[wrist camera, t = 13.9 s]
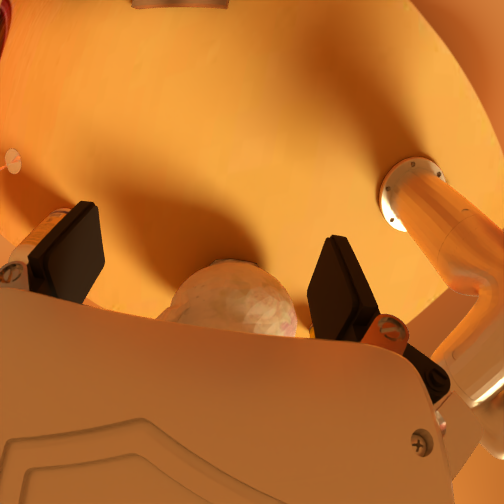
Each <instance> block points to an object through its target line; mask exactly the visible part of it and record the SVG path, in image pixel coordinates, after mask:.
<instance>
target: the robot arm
mask: <svg viewBox="0 0 504 504" xmlns="http://www.w3.org/2000/svg"><path fill="white" fill-rule="evenodd" d="M379 205H380V210H381V213H382V215H383V217H384V218H385V220H386V221H387V222H388V223H389V224H390V225H391V226H392V227H393V228H395V229H397V230H400V231H407V232H408V233H409V234H410V236H411V237H412V238H413V239H414V241H415V242H416V243H417V245H418V246H419V247H420V249H421V250H422V251H423V253H424V254H425V255H426V257H427V258H428V260H429V261H430V262H431V264H432V265H433V267H434V268H435V269H436V271H437V272H438V274H439V275H440V276H441V278H442V279H443V281H444V282H445V283H446V285H447V286H448V287H449V288H451V289H452V290H454V291H455V292H457V293H460V294H463V295H468V296H479V297H478V300H477V301H476V303H475V304H474V306H473V307H472V308H471V310H470V311H469V313H468V314H467V315H466V316H465V318H464V319H463V320H462V321H461V322H460V323H459V324H458V325H457V327H456V328H455V329H454V330H453V331H452V332H451V333H450V334H449V335H448V337H447V338H446V339H445V340H444V341H443V342H442V343H441V344H440V345H439V347H438V348H437V349H436V350H435V351H434V353H433V355H432V356H431V358H430V359H429V358H428V357H427V356H425V355H424V354H422V353H421V352H419V351H418V350H417V349H415V348H414V347H413V346H411V345H410V344H408V340H409V331H408V329H407V327H406V325H405V324H404V323H403V322H402V321H401V320H400V319H399V318H397V317H395V316H393V315H390V314H380V311H379V309H378V305H377V303H376V300H375V298H374V296H373V293H372V291H371V289H370V287H369V284H368V282H367V280H366V278H365V275H364V273H363V271H362V269H361V267H360V265H359V262H358V260H357V258H356V256H355V254H354V252H353V250H352V248H351V246H350V244H349V242H348V240H347V238H346V237H343V236H337V235H332V236H331V237H330V238H328V237H327V238H326V240H325V243H324V245H323V248H322V251H321V254H320V257H319V259H318V262H317V265H316V268H315V270H314V273H313V276H312V278H311V281H310V284H309V286H308V290H307V298H308V303H309V308H310V313H311V318H312V323H313V329H314V334H315V338H301V337H288V336H277V335H266V334H257V333H248V332H239V331H231V330H223V329H216V328H208V327H201V326H195V325H188V324H182V323H175V322H169V321H163V320H158V319H152V318H146V317H141V316H136V315H131V314H126V313H120V312H116V311H111V310H106V309H101V308H97V307H92V306H88V305H83V304H82V303H83V301H84V299H85V298H86V296H87V294H88V292H89V291H90V289H91V287H92V285H93V284H94V282H95V280H96V279H97V277H98V275H99V274H100V272H101V270H102V269H103V267H104V264H105V257H104V251H103V244H102V237H101V230H100V221H99V212H98V207H97V206H95V204H94V203H93V202H87V201H80V202H79V203H78V204H77V205H76V206H75V207H74V208H73V209H72V210H70V211H69V212H68V213H67V214H66V215H65V216H64V217H63V218H62V219H61V220H60V221H59V222H58V223H57V224H56V225H55V226H54V227H53V229H52V230H51V231H50V232H49V233H48V234H47V235H46V236H45V237H44V238H43V239H42V240H41V241H40V242H39V243H38V245H37V246H36V247H35V248H34V249H33V250H32V251H31V252H30V254H29V255H28V256H27V257H28V261H29V262H28V264H27V265H26V264H25V263H24V262H22V261H12V262H9V263H7V264H5V265H4V266H3V267H2V268H0V504H455V503H454V494H453V486H452V480H453V479H454V478H455V477H456V475H457V474H458V473H459V471H460V470H461V468H462V467H463V466H464V464H465V463H466V461H467V460H468V458H469V457H470V456H471V454H472V453H473V451H474V450H475V448H476V446H477V445H478V443H480V444H481V445H482V446H483V447H484V448H485V449H486V450H487V451H488V452H489V453H490V454H491V455H493V456H494V457H496V458H498V459H502V460H504V232H503V231H502V230H501V229H500V228H499V227H498V226H497V225H496V224H495V223H494V222H492V221H491V220H490V219H489V218H488V217H487V216H486V215H485V214H483V213H482V212H481V211H480V210H479V209H478V208H477V207H475V206H474V205H473V204H472V203H471V202H469V201H468V200H467V199H466V198H465V197H463V196H462V195H461V194H460V193H458V192H457V191H456V190H455V189H453V188H452V187H451V186H449V185H448V184H447V183H446V180H445V177H444V174H443V172H442V171H441V169H440V168H439V167H438V166H437V165H436V164H435V163H434V162H432V161H431V160H429V159H426V158H424V157H410V158H407V159H404V160H402V161H400V162H399V163H397V164H396V165H395V166H394V167H392V169H391V170H390V171H389V172H388V173H387V175H386V177H385V178H384V180H383V183H382V185H381V188H380V193H379Z"/></svg>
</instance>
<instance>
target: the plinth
mask: <svg viewBox="0 0 504 504" xmlns="http://www.w3.org/2000/svg"><path fill="white" fill-rule="evenodd" d="M228 3H229V0H133V1H132V6H131V7H133V8H136V9H145V8H161V7H207V8H223V9H227V8H228Z"/></svg>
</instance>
